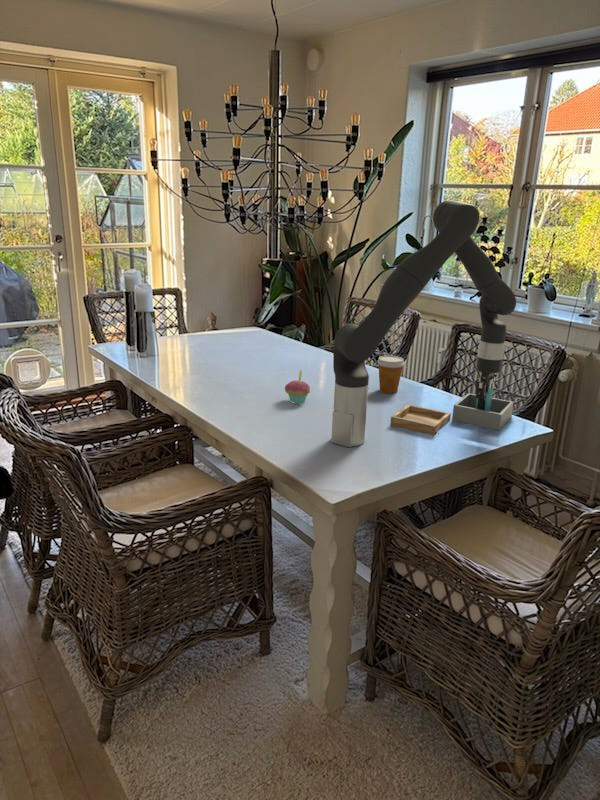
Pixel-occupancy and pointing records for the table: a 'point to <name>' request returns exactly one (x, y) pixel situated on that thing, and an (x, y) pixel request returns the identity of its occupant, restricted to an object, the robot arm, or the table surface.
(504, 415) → the deep bin
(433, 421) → the tray
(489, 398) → the peg
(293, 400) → the cupcake
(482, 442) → the table surface
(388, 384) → the disposable coffee cup
